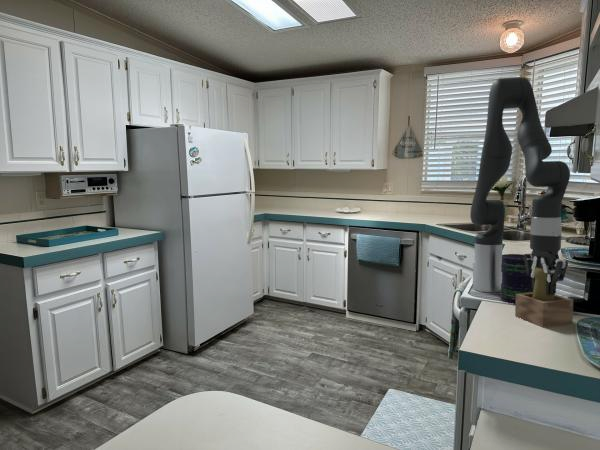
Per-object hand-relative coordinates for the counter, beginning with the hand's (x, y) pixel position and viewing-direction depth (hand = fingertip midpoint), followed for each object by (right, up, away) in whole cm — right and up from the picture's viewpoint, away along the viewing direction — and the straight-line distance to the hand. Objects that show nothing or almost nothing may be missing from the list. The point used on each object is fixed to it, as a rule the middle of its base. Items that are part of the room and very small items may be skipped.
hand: (543, 292), depth 118 cm
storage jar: (+3, -6, +21) cm, 22 cm away
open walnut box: (0, -8, +1) cm, 8 cm away
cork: (0, -4, 0) cm, 4 cm away
